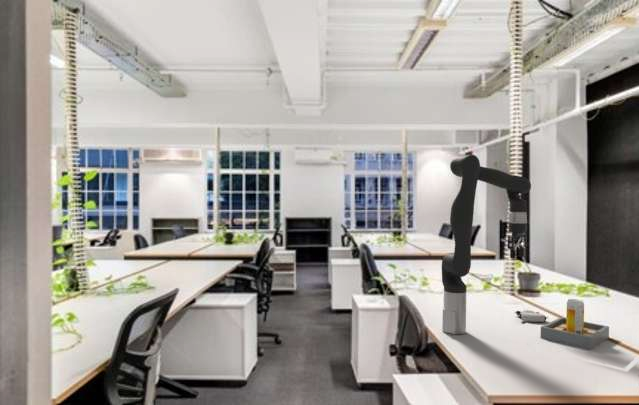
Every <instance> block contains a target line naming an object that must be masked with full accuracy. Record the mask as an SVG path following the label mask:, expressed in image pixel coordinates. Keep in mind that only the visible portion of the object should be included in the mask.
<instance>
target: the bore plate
mask: <svg viewBox="0 0 639 405" xmlns="http://www.w3.org/2000/svg"><path fill="white" fill-rule="evenodd" d="M552 329H557V330H562V331H566V324H564V323H562V324H560V325H558V326H556V327H554V328H552ZM597 331H598V330H593V329H588V328H584V334H580V335H585V336H590V335H592V334H593V333H595V332H597ZM566 332H568V331H566ZM571 333H573V332H571ZM575 334H577V333H575Z"/></svg>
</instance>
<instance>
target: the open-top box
mask: <svg viewBox="0 0 639 405" xmlns="http://www.w3.org/2000/svg"><path fill="white" fill-rule="evenodd" d="M566 319H567V317H558V318H556V319H555V320H552V321H550V322H548V323H546V324H544V325H542V326H540V339H544V340H547V341H550V342H551V341H552V342H555V343H556V342H557V343H559V344H565V345H569V346H573V347H577V348H580V349H581V348H582V349H586V350H589V351H591V350H593V349H595V348H596V347H598V346H599V345H601V344H602V343H604V342H605V341H606V340H608V339H609V338H610V326H608V325H603V324H597V323H593V322H588V321H584V328H588V329H593V330H598V331H597V332H595V333H593V334H592V335H590V336H585V335H580V334H575V333H571V332H566V331H562V330H557V329H552V328H554V327H556V326H558V325H560V324H562V323H564V324H566Z"/></svg>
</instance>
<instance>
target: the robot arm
mask: <svg viewBox="0 0 639 405" xmlns="http://www.w3.org/2000/svg"><path fill="white" fill-rule="evenodd" d="M449 165H450V167H449V168H450V171H451V173H452V174H453V175H455V176H456V177H460V178H461V185H460V189H459V191H458V192H457V194H456V197H455V198H454V200H453V201H452V204H451V206H450V207H451V208H450V217H449V224H450V228H451V231H452V234H453V237H454V238H453V239H454V249H453V251H454V252H449V253H445V255H444V256H443V258H442V261H441V282H442V286H443V309H442V328H441V329H442V332H443V333H447V334H450V335H463V334H466V333H467V285H466V283H465V282H464V281H463V279H462V277H465V276H467V275H468V274H469V273H470V269H471V266H472V246H471V245H472V233H473V232H472V231H473V230H472V229H473V223H474V222H473V221H474V210H475V198H476V191H477V185H478V181H480V182H483V183H487V184H489V185H492V186H495V187H498V188H500V189H505V190H506V194H507V199H508V202H509V214H508V232H509V233H511V234H510V235H507V249H508V250H509V258H510V259H514V260H516V258H517V257H516V254H517V253H516V252H517V250H516V249H517V247H518V257H520V258H524V257H525V249H526V247H527V246H528V245H527V243H528V242H527V240H528V238H527V234H526V233H527V232H528V231H527V230H528V226H527V224H528V222H527V221H528V217H527V200H525V199H523V198H521V196H520V194H526V193H528V192H530V190H531V189H532V184H531V181H530V180H529V179H528V178H526V177H523V176H521V175H514V174H509V172H508V173H507V172H505V171H503V170H501V169H500V170H499V169H496V168H490V167H485V166H481V163H480V160H479V157H478V156H477V155H475V154H465V155H457V156H455V157H454V158H452V160H451V161H450V164H449Z"/></svg>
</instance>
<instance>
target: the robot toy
mask: <svg viewBox="0 0 639 405" xmlns="http://www.w3.org/2000/svg"><path fill="white" fill-rule="evenodd" d="M514 313H515V314H516V316H517V317H518V318H519V319H520V320H521V321H522V322H523V323H525V324H527V323H530V322H532V323H544V322H545V321H546V320H547V319H549V316H545V315H544V314H543V313H540V312H539V311H538V312H537V311H536V312H535V311H534V310H532V309H531V310H530V309H523V310H522V311H519V310H517V311H514Z"/></svg>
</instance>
